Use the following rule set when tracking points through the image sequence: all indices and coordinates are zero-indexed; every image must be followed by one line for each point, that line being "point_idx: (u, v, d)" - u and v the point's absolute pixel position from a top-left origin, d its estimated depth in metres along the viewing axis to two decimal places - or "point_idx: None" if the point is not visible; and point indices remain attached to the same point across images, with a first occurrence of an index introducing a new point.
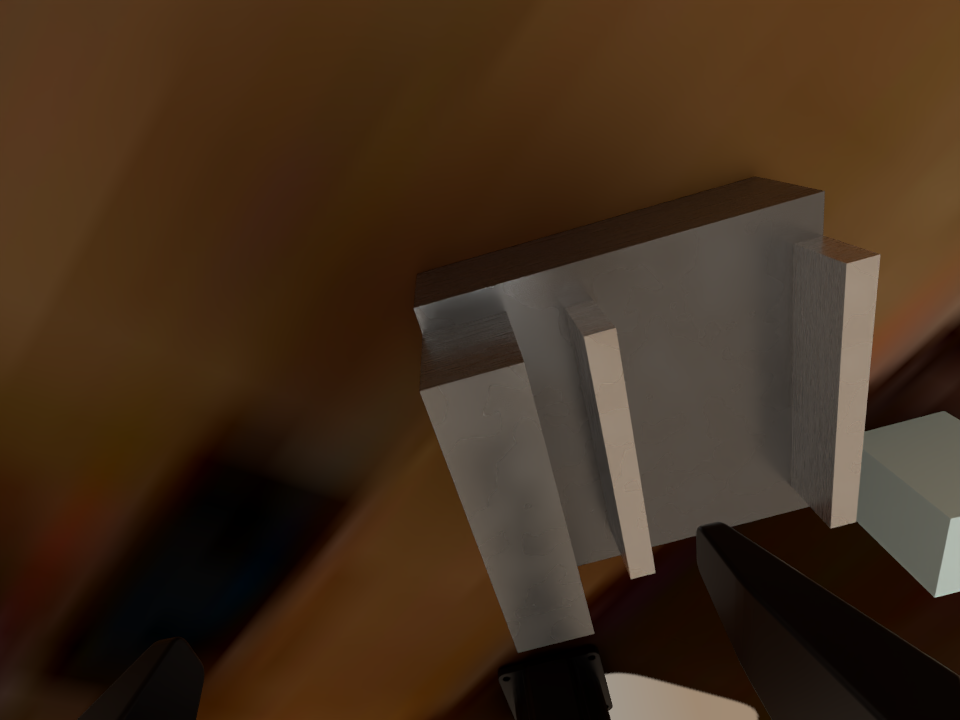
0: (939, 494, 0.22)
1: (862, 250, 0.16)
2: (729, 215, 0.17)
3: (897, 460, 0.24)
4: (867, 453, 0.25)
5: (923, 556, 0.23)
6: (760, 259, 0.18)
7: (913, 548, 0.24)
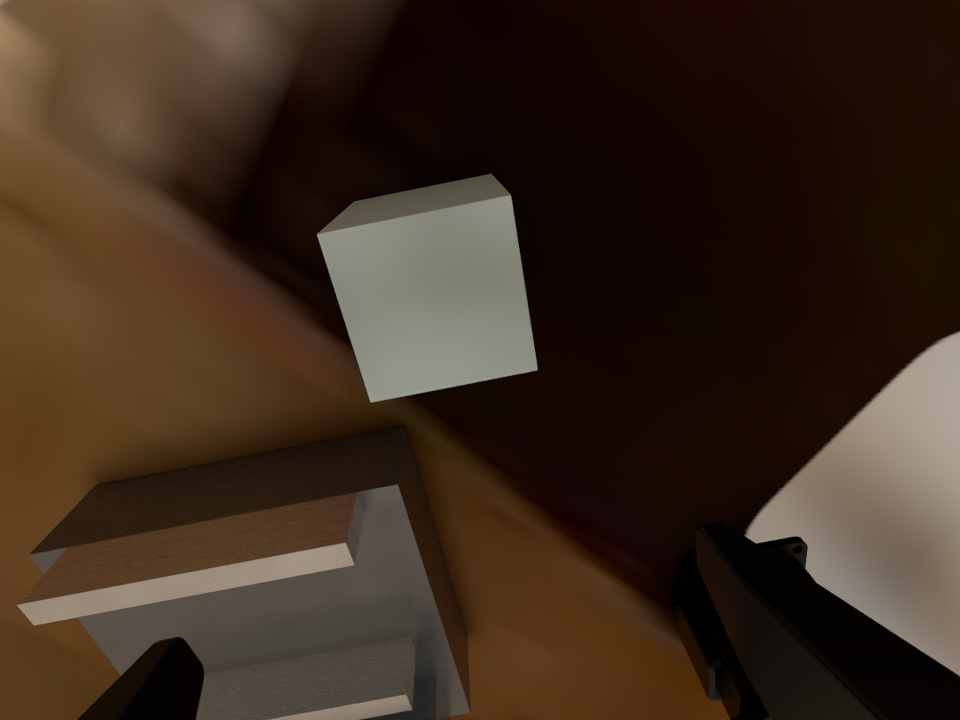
0: None
1: (31, 591, 0.17)
2: None
3: None
4: None
5: None
6: None
7: None
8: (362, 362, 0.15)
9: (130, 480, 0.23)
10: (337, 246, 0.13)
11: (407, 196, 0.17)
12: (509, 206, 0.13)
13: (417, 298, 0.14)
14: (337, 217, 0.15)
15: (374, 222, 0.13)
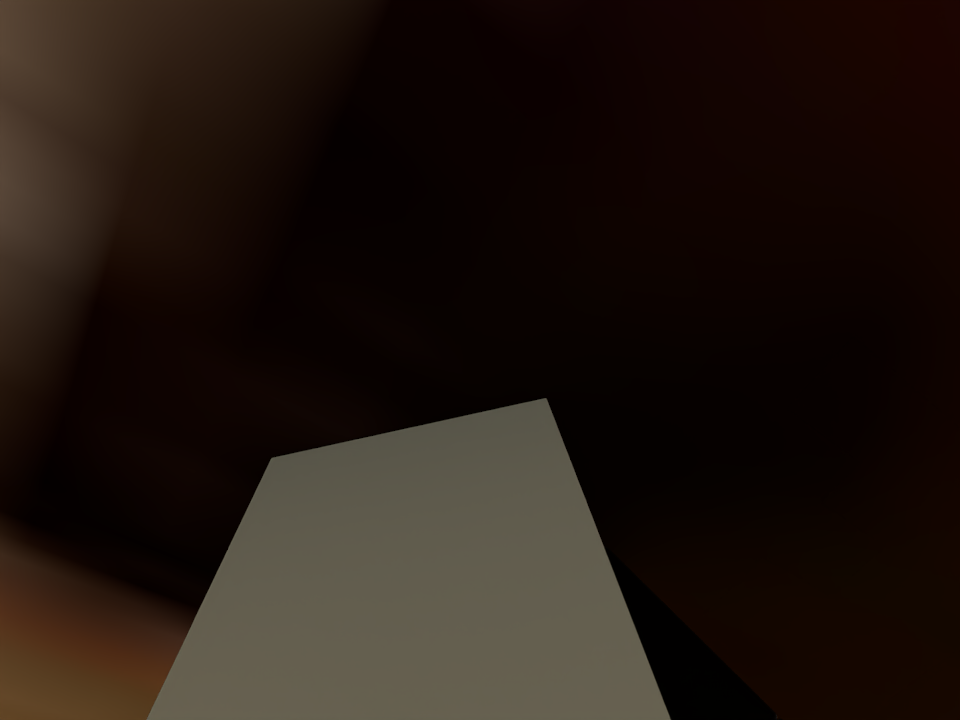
0: None
1: None
2: None
3: None
4: None
5: None
6: None
7: None
8: None
9: None
10: None
11: (372, 504, 0.07)
12: None
13: None
14: (188, 641, 0.06)
15: None
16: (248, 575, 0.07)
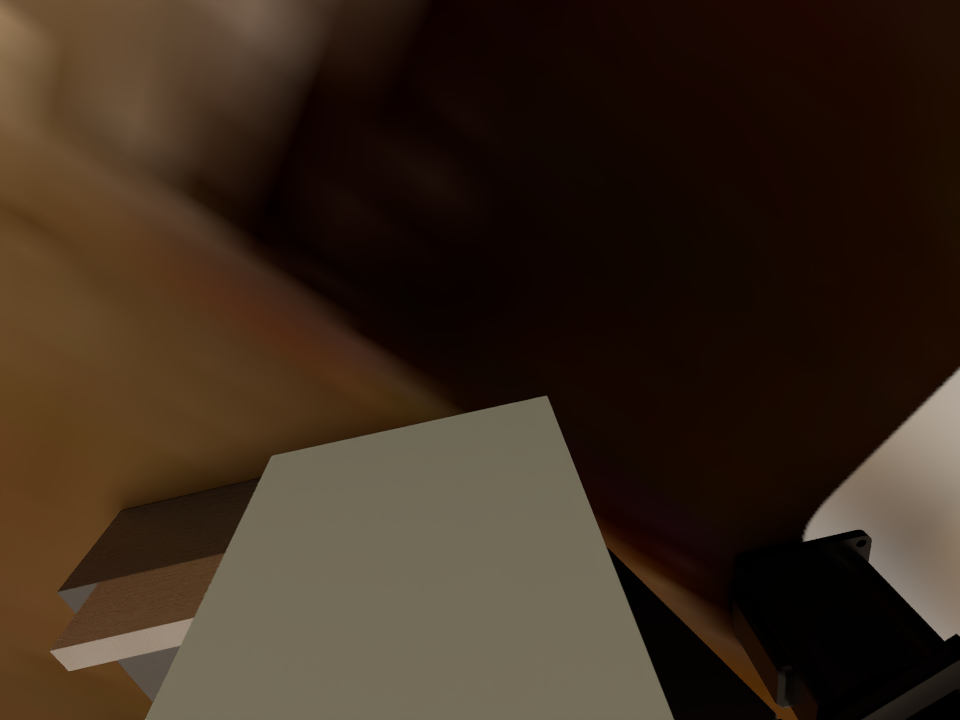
0: None
1: (64, 634, 0.16)
2: None
3: None
4: None
5: None
6: None
7: None
8: None
9: (158, 503, 0.21)
10: None
11: (373, 501, 0.07)
12: None
13: None
14: (188, 638, 0.06)
15: None
16: (248, 572, 0.07)
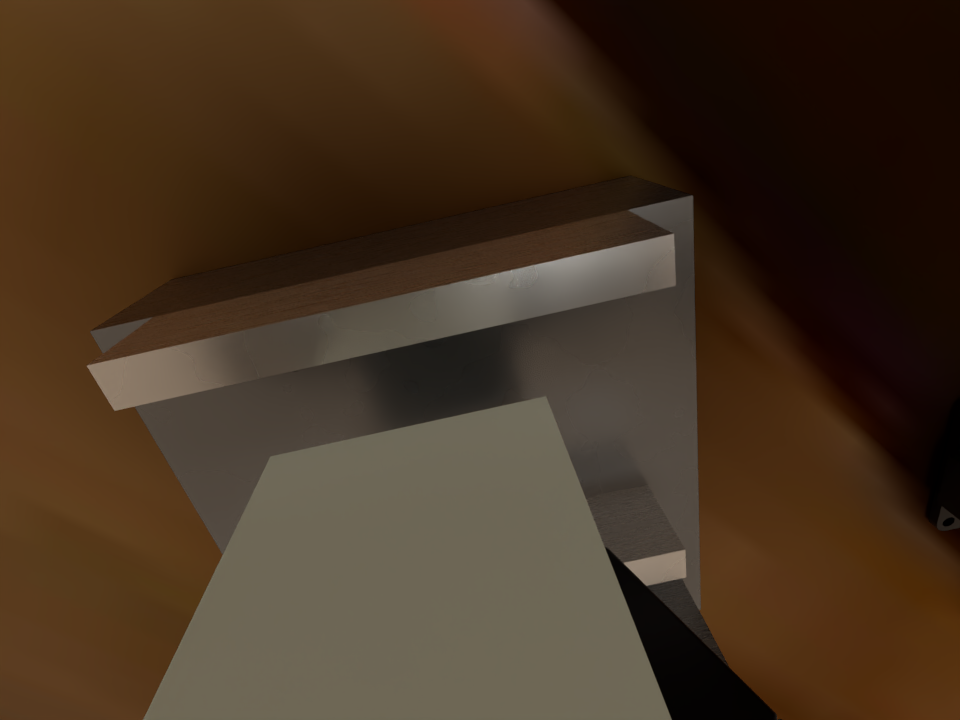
0: None
1: (107, 355, 0.10)
2: (158, 433, 0.13)
3: None
4: None
5: None
6: (204, 394, 0.13)
7: None
8: None
9: (224, 268, 0.15)
10: None
11: (372, 502, 0.07)
12: None
13: None
14: (186, 639, 0.06)
15: None
16: (247, 573, 0.07)
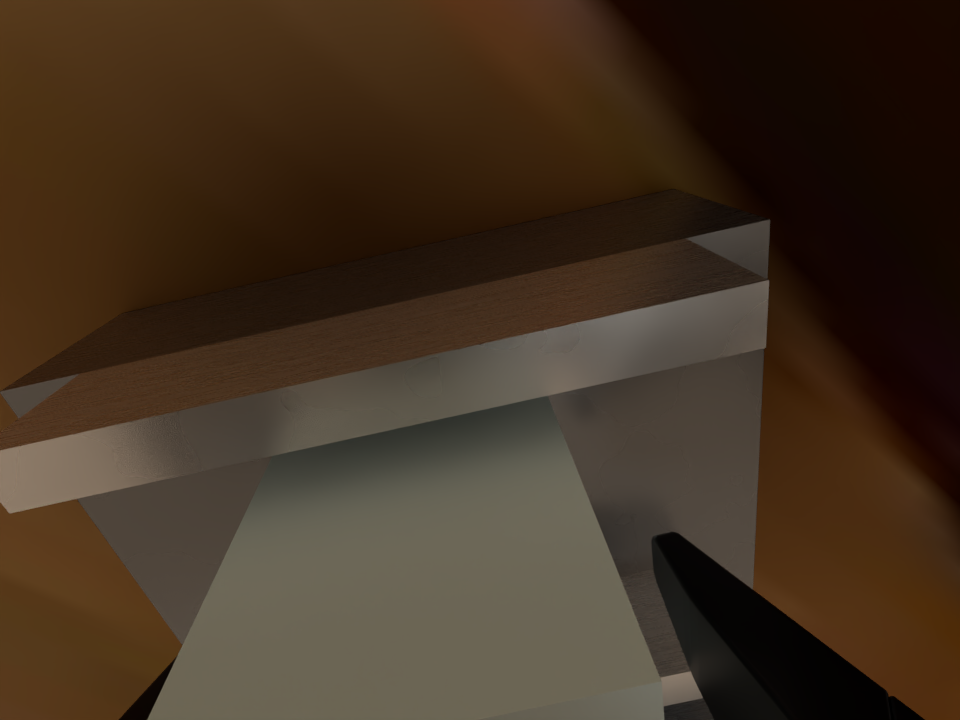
0: None
1: (2, 437, 0.07)
2: (96, 509, 0.11)
3: None
4: None
5: None
6: None
7: None
8: None
9: (185, 300, 0.13)
10: None
11: (380, 461, 0.08)
12: (654, 700, 0.05)
13: None
14: (220, 573, 0.07)
15: None
16: (271, 521, 0.08)
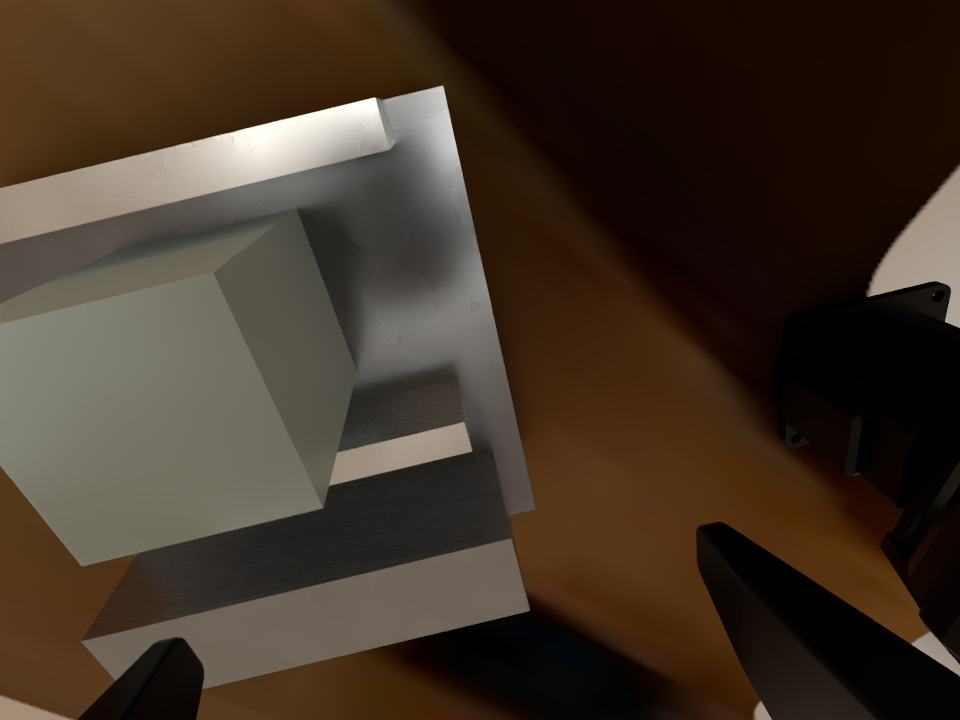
0: None
1: None
2: None
3: None
4: None
5: None
6: (10, 284, 0.14)
7: None
8: (49, 517, 0.10)
9: None
10: None
11: (154, 251, 0.12)
12: (215, 289, 0.08)
13: (106, 427, 0.09)
14: (18, 295, 0.10)
15: (0, 323, 0.08)
16: (65, 278, 0.11)
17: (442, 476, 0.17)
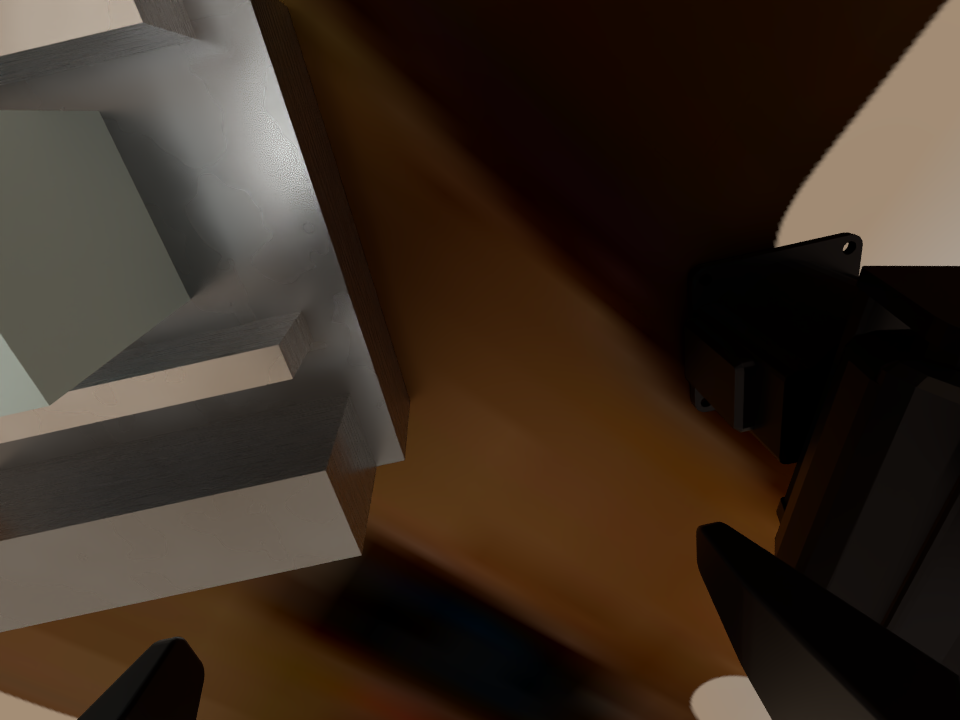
0: None
1: None
2: None
3: None
4: None
5: None
6: None
7: None
8: None
9: None
10: None
11: None
12: None
13: None
14: None
15: None
16: None
17: (290, 416, 0.16)
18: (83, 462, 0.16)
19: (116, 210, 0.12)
